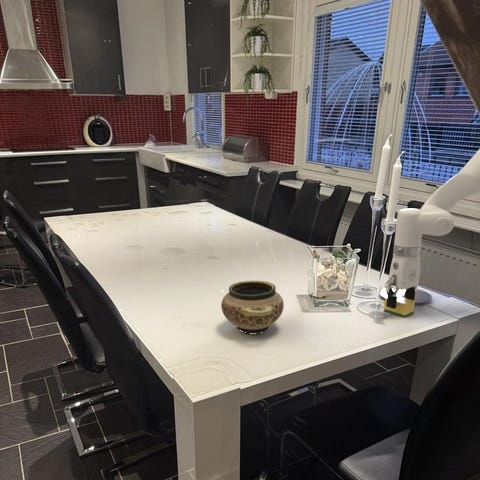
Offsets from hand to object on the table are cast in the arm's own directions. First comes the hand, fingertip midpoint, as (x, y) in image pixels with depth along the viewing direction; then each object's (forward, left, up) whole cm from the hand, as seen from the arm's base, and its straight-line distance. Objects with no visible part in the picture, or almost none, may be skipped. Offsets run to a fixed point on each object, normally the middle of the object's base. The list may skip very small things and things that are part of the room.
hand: (400, 304), depth 147 cm
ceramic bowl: (+20, +44, -3) cm, 49 cm away
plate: (+7, -14, -3) cm, 16 cm away
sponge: (0, 0, -3) cm, 3 cm away
